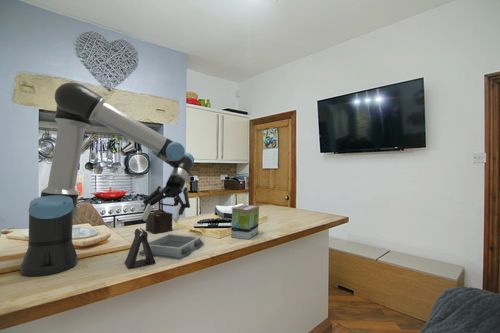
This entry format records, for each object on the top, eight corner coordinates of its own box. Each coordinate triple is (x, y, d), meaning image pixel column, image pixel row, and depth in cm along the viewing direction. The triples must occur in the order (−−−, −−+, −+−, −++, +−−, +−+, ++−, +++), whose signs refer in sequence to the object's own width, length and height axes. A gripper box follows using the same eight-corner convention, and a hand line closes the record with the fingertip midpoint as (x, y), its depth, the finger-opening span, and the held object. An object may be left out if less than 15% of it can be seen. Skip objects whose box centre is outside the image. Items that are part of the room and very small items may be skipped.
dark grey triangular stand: (128, 269, 86) (129, 233, 86) (124, 263, 90) (125, 229, 90) (155, 263, 91) (156, 230, 91) (151, 258, 96) (151, 226, 96)
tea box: (249, 240, 124) (250, 209, 124) (230, 237, 127) (231, 207, 127) (258, 232, 138) (259, 205, 138) (241, 230, 141) (241, 204, 141)
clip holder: (139, 254, 100) (139, 245, 100) (168, 240, 120) (168, 233, 120) (181, 259, 95) (181, 250, 95) (205, 244, 115) (205, 236, 115)
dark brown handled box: (155, 234, 130) (155, 199, 130) (145, 230, 138) (145, 197, 138) (181, 229, 142) (182, 197, 142) (171, 226, 149) (171, 195, 149)
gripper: (205, 186, 116) (191, 227, 101) (154, 184, 121) (134, 223, 106) (201, 175, 111) (186, 216, 96) (148, 173, 115) (126, 212, 101)
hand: (159, 220), depth 101 cm, fingers open, 13 cm apart
